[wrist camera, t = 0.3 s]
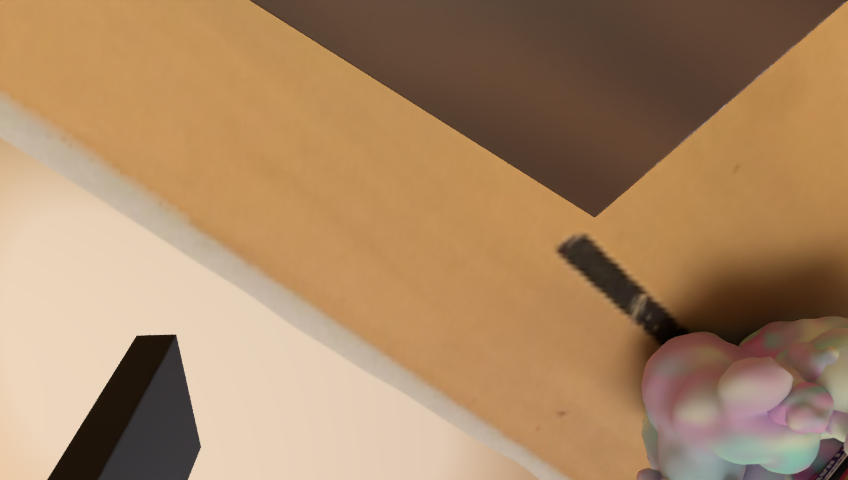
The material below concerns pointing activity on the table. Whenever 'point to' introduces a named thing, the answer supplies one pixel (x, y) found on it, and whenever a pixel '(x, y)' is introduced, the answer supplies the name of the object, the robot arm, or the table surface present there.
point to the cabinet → (564, 72)
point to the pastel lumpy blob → (749, 405)
